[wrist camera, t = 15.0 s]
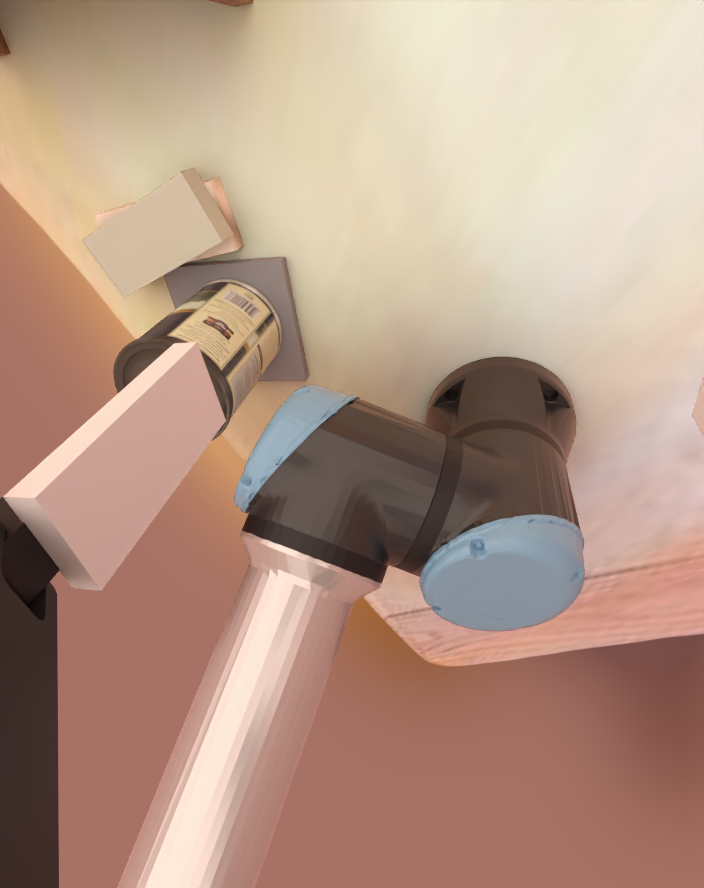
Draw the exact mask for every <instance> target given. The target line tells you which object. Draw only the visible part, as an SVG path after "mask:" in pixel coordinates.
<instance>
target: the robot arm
mask: <svg viewBox="0 0 704 888" xmlns="http://www.w3.org/2000/svg"><path fill="white" fill-rule="evenodd" d="M692 417H693V419H694V420H695V422H696V424H697V426H698V427H699V429H700V431H701V433H702V434H703V436H704V375H703V379H702V382H701V386H700V389H699V393H698V396H697V399H696V403H695V406H694V410H693V413H692ZM225 421H226V419H225V417H224V414H223V411H222V408H221V406H220V403H219V400H218V398H217V395H216V392H215V389H214V387H213V384H212V381H211V379H210V376H209V373H208V370H207V368H206V365H205V362H204V359H203V357H202V354H201V351H200V349H199V346H198V343H197V342H189V343H174V344H173V345H172V346H171V347H170V348H168V349H167V350H166V351H165V352H164V353H163V354H162V355H161V356H160V357H158V358H157V359H156V360H155V361H154V362H153V363H152V364H151V365H150V366H148V367H147V368H146V369H145V370H144V371H143V372H142V373H141V374H139V375H138V376H137V377H136V378H135V379H134V380H133V381H132V382H131V383H129V384H128V385H127V386H126V387H125V388H124V389H123V390H122V391H120V392H119V393H118V395H116V396H115V397H114V398H113V399H112V400H110V402H108V403H107V404H106V405H105V406H104V407H103V408H101V409H100V410H99V411H98V412H97V413H96V414H95V415H94V416H93V417H91V418H90V419H89V420H88V421H87V422H86V423H85V424H84V425H83V426H81V427H80V428H79V429H78V430H77V431H76V432H75V433H74V434H72V435H71V436H70V437H69V438H68V439H67V440H66V441H65V442H63V443H62V444H61V445H60V446H59V447H58V448H57V449H55V450H54V451H53V452H52V453H51V454H50V455H49V456H48V457H47V458H45V459H44V460H43V461H42V462H41V463H40V464H39V465H38V466H37V467H36V468H35V469H33V470H32V471H31V472H30V473H29V474H28V475H26V476H25V477H24V478H23V479H22V480H21V481H20V482H19V483H17V484H16V485H15V486H14V487H13V488H12V489H11V490H10V491H8V493H6V494H5V495H4V496H3V497H2V498H1V499H0V888H59V855H58V854H59V849H58V847H59V846H58V692H57V691H58V687H57V683H58V682H57V593H56V590H55V588H54V587H53V585H52V584H51V583H50V581H51V579H52V578H53V577H54V576H55V575H56V573H57V572H58V571H60V572H61V573H62V575H63V576H64V577H65V578H66V580H67V581H68V582H69V584H70V585H71V586H72V588H78V589H88V590H99V591H101V590H102V589H103V588H104V586H105V585H106V584H107V582H108V581H109V580H110V578H111V577H112V575H113V574H114V573H115V571H116V570H117V569H118V567H119V566H120V564H121V563H122V562H123V560H124V559H125V558H126V556H127V555H128V553H129V552H130V551H131V550H132V548H133V547H134V545H135V544H136V543H137V541H138V540H139V539H140V537H141V536H142V535H143V533H144V532H145V530H146V529H147V528H148V526H149V525H150V523H151V522H152V521H153V519H154V518H155V517H156V515H157V514H158V513H159V511H160V510H161V508H162V507H163V506H164V504H165V503H166V502H167V500H168V499H169V498H170V496H171V495H172V493H173V492H174V491H175V489H176V488H177V487H178V485H179V484H180V483H181V481H182V480H183V478H184V477H185V476H186V474H187V473H188V472H189V470H190V469H191V467H192V466H193V465H194V463H195V462H196V461H197V459H198V458H199V457H200V455H201V454H202V452H203V451H204V450H205V448H206V447H207V446H208V444H209V443H210V441H211V440H212V439H213V438H214V436H215V435H216V433H217V432H218V431H219V429H220V428H221V427H222V425H223V424H224V423H225ZM575 433H576V416H575V411H574V407H573V403H572V400H571V397H570V394H569V392H568V390H567V389H566V387H565V386H564V384H563V383H562V382H561V381H560V380H559V379H558V378H557V377H556V376H555V375H554V374H553V373H551V372H550V371H549V370H547V369H546V368H544V367H542V366H540V365H538V364H536V363H533V362H530V361H527V360H523V359H518V358H511V357H494V358H487V359H482V360H478V361H475V362H472V363H469V364H467V365H465V366H462V367H461V368H459V369H457V370H455V371H454V372H452V373H451V374H450V375H448V376H447V377H446V378H445V379H444V380H443V381H442V382H441V383H440V384H439V386H438V387H437V388H436V390H435V391H434V393H433V395H432V397H431V399H430V402H429V406H428V410H427V416H426V424H425V425H424V424H421V423H418V422H416V421H413V420H411V419H408V418H406V417H403V416H400V415H398V414H395V413H393V412H390V411H387V410H385V409H382V408H380V407H377V406H375V405H372V404H370V403H367V402H365V401H363V400H360V398H359V397H357V396H355V395H350V396H349V395H346V394H343V393H340V392H337V391H333V390H330V389H327V388H324V387H321V386H317V385H309V386H304V387H302V388H300V389H298V390H297V391H295V392H294V393H293V394H292V395H291V396H290V397H289V398H288V399H287V400H286V401H285V402H284V403H283V404H282V405H281V407H280V408H279V409H278V411H277V412H276V413H275V415H274V416H273V418H272V419H271V421H270V422H269V424H268V425H267V427H266V429H265V430H264V432H263V433H262V435H261V437H260V438H259V440H258V442H257V444H256V446H255V447H254V449H253V451H252V453H251V455H250V457H249V459H248V461H247V463H246V465H245V469H244V470H245V472H244V473H243V475H242V477H241V479H240V481H239V483H238V485H237V488H236V491H235V496H234V501H235V504H236V506H238V507H239V508H240V510H241V511H242V512H244V513H248V512H249V515H248V517H247V519H246V522H245V524H244V526H243V529H242V531H241V534H240V535H241V538H242V540H243V543H244V545H245V547H246V550H247V552H248V555H249V566H248V569H247V571H246V573H245V576H244V578H243V581H242V583H241V586H240V588H239V591H238V593H237V595H236V598H235V600H234V603H233V605H232V608H231V610H230V613H229V615H228V617H227V621H226V622H225V625H224V627H223V630H222V632H221V635H220V637H219V640H218V642H217V644H216V647H215V649H214V652H213V654H212V657H211V659H210V662H209V664H208V667H207V669H206V671H205V674H204V676H203V679H202V681H201V684H200V686H199V689H198V691H197V693H196V696H195V698H194V701H193V703H192V706H191V708H190V711H189V713H188V715H187V718H186V720H185V723H184V725H183V728H182V730H181V733H180V735H179V738H178V740H177V742H176V745H175V747H174V750H173V752H172V755H171V757H170V760H169V762H168V764H167V767H166V769H165V772H164V774H163V777H162V779H161V782H160V784H159V787H158V789H157V791H156V794H155V797H154V799H153V801H152V804H151V806H150V809H149V811H148V814H147V816H146V818H145V821H144V823H143V826H142V828H141V831H140V833H139V836H138V838H137V840H136V843H135V845H134V848H133V850H132V853H131V855H130V858H129V860H128V862H127V865H126V867H125V870H124V873H123V875H122V877H121V880H120V882H119V884H118V887H117V888H255V885H256V882H257V879H258V876H259V873H260V871H261V867H262V865H263V862H264V859H265V856H266V853H267V850H268V848H269V845H270V842H271V839H272V836H273V833H274V830H275V828H276V825H277V822H278V819H279V816H280V813H281V810H282V808H283V805H284V802H285V799H286V796H287V793H288V790H289V787H290V784H291V782H292V779H293V776H294V773H295V770H296V767H297V765H298V762H299V759H300V756H301V753H302V750H303V747H304V744H305V742H306V739H307V736H308V733H309V730H310V727H311V724H312V722H313V718H314V716H315V713H316V710H317V707H318V704H319V702H320V699H321V696H322V693H323V690H324V687H325V684H326V681H327V678H328V676H329V673H330V670H331V667H332V664H333V662H334V659H335V656H336V653H337V650H338V647H339V644H340V641H341V638H342V635H343V633H344V630H345V627H346V624H347V621H348V618H349V616H350V612H351V610H352V607H353V604H354V603H355V601H357V600H358V599H359V598H360V597H363V596H365V595H367V594H369V593H371V592H373V591H375V590H377V589H379V588H380V587H381V584H382V581H383V578H384V576H385V573H386V570H387V567H388V565H390V566H393V567H396V568H399V569H401V570H404V571H406V572H409V573H411V574H414V575H417V576H419V577H421V578H420V584H421V585H420V587H421V590H422V592H423V596H424V599H425V601H426V603H427V604H428V605H430V606H432V609H433V611H434V612H435V613H436V614H437V615H439V616H440V617H441V618H443V619H445V620H447V621H449V622H451V623H453V624H456V625H459V626H462V627H465V628H470V629H475V630H482V631H511V630H516V629H520V628H526V627H532V626H535V625H538V624H541V623H543V622H546V621H548V620H550V619H552V618H554V617H556V616H557V615H559V614H560V613H562V612H563V611H565V610H566V609H567V608H568V607H569V606H570V605H571V604H572V603H573V602H574V601H575V600H576V598H577V597H578V595H579V593H580V591H581V589H582V586H583V583H584V578H585V569H584V560H583V548H584V539H583V537H582V533H581V531H580V527H579V522H578V518H577V513H576V509H575V504H574V500H573V496H572V491H571V487H570V482H569V478H568V473H567V469H566V461H567V458H568V455H569V453H570V450H571V447H572V444H573V441H574V438H575Z"/></svg>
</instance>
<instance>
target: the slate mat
mask: <svg viewBox="0 0 704 888" xmlns="http://www.w3.org/2000/svg"><path fill="white" fill-rule="evenodd" d="M164 277H165V280H166V283H167V286H168V289H169V291H170V294H171V297H172V300H173V303H174V306H175V309H177V308H178V307H179V306H180V305H182V304H183V303H184V302H185V301H187V300H188V299H189V298H190V297H192V296H193V295H194V294H195V293H197V292H198V290H199V289H200V288H201V287H203V286H204V285H206V284H207V283H209V282H212V281H215V280H220V279H232V280H237V281H240V282H243V283H246V284H248V285H250V286H252V287H253V288H255V289H256V290H258V291H259V292H260V293H261V294H262V295H263V296H265V297H266V298H267V299H268V300H269V302H270V303H271V304H272V306H273V307H274V309H275V311H276V313H277V315H278V317H279V320H280V323H281V328H282V343H281V347H280V350H279V352H278V354H277V355H276V357H275V358H274V359H273V360H272V361H271V362H270V364H269V365H268V367H267V368H266V369H265V371H264V372H263V374H262V375H261V376H260V378H259V379H258V381H306V380H307V378H308V376H309V375H308V370H307V365H306V360H305V355H304V350H303V345H302V340H301V335H300V330H299V325H298V320H297V315H296V310H295V305H294V300H293V295H292V290H291V285H290V280H289V275H288V270H287V265H286V260H285V257H276V258H262V259H248V260H234V261H220V262H206V263H192V264H182V265H180V266H179V267H177V268H175V269H173V270H172V271H170V272H168V273H166V274H165V275H164Z"/></svg>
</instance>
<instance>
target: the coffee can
mask: <svg viewBox="0 0 704 888" xmlns="http://www.w3.org/2000/svg"><path fill="white" fill-rule="evenodd" d="M189 342H197V343H198V346H199V349H200V351H201V354H202V357H203V359H204V362H205V365H206V368H207V370H208V373H209V376H210V379H211V381H212V384H213V387H214V389H215V392H216V395H217V398H218V400H219V403H220V406H221V408H222V411H223V414H224V417H225V419H226V421H225V423H224V424H223V425H222V427H221V428H220V429H219V431H218V432H217V433H216V435H215V436H214V438H213V439H212V440H214V439H215V438H217V437H218V436H219V435H220V434H221V433H222V432H223V431H224V430H225V428H226V427H227V425H228V423H229V421H230V419H231V417H232V416H233V414H234V413H235V412H236V410H237V409H238V407H239V406H240V405H241V403H242V402H243V400H244V399H245V398H246V396H247V395H248V393H249V392H250V390H251V389H252V388H253V386H254V385H255V384H256V382H257V381H258V379H259V378H260V376H261V375H262V374H263V372H264V371H265V369H266V368H267V367H268V365H269V364H270V362H271V361H272V360H273V359H274V358H275V357H276V355H277V354H278V352H279V350H280V347H281V343H282V328H281V323H280V320H279V317H278V315H277V313H276V311H275V309H274V307H273V306H272V304H271V303H270V302H269V300H268V299H267V298H266V297H265V296H263V295H262V294H261V293H260V292H259V291H258V290H256V289H255V288H253V287H252V286H250V285H248V284H246V283H243V282H240V281H237V280H232V279H220V280H215V281H212V282H209V283H207V284H206V285H204V286H203V287H201V288H200V289H199V290H198V292H197V293H195V294H194V295H193V296H192V297H190V298H189V299H188V300H187V301H185V302H184V303H183V304H182V305H180V306H179V307H178V308H177V309H175V310H174V311H173V312H172V313H170V314H169V315H168V316H167V317H165V318H164V319H163V320H162V321H160V322H159V323H158V324H156V325H155V326H154V327H153V328H151V329H150V330H149V331H148V332H146V333H145V334H144V335H143V336H141V337H140V338H139V339H136V340H134V341H133V342H131V343H129V344H128V345H127V346H125V347H124V348H123V350H121V352H120V353H119V355H118V356H117V358H116V361H115V364H114V380H115V386H116V388H117V391H118V393H119V392H120V391H122V390H123V389H124V388H125V387H126V386H127V385H128V384H129V383H131V382H132V381H133V380H134V379H135V378H136V377H137V376H138V375H139V374H141V373H142V372H143V371H144V370H145V369H146V368H147V367H148V366H150V365H151V364H152V363H153V362H154V361H155V360H156V359H157V358H158V357H160V356H161V355H162V354H163V353H164V352H165V351H166V350H167V349H168V348H170V347H171V346H172V345H173V344H174V343H189ZM212 440H211V441H212Z"/></svg>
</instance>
